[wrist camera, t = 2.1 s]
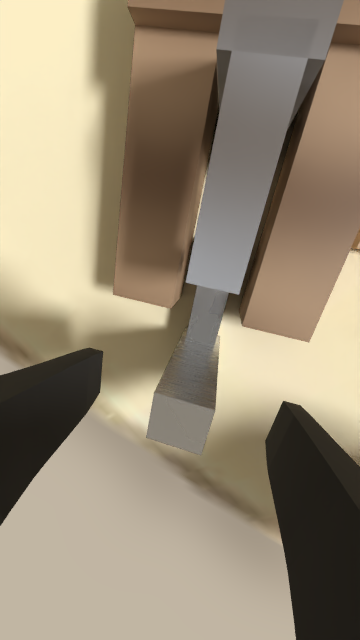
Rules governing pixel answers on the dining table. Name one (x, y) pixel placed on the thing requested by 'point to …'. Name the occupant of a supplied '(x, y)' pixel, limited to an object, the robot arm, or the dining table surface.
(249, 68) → the vise
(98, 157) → the dining table surface
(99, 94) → the dining table surface
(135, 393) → the dining table surface
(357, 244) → the cork mat
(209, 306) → the grey l-shaped block
